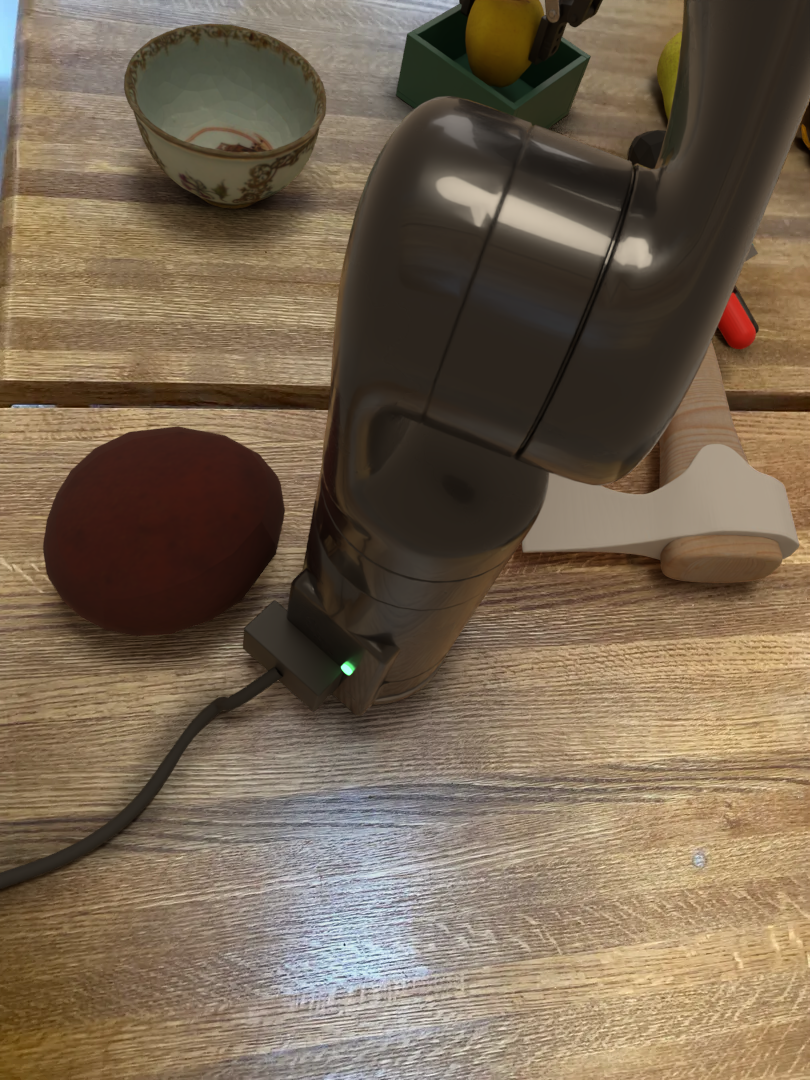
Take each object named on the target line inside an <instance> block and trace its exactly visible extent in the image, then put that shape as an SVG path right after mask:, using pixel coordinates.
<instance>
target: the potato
mask: <svg viewBox="0 0 810 1080" xmlns="http://www.w3.org/2000/svg"><path fill="white" fill-rule="evenodd" d="M284 502H285V501H284V496H283V491H282V483H281V481H280V478H279V477H278V474H277V473H276V472H275V471H274V470H273V468H272V467H271V466H270V465H269V464H268V463H267V462H266V460H265V459H264V458H263V457H262V456H261V455H260V453H258V452H257V451H254V450H252V449H251V448H249V447H247V446H245V445H244V444H241V443H239V442H238V441H236V440H234V439H232V438H230V437H229V436H227V435H224V434H220V433H215V432H209V431H204V430H199V429H193V428H189V427H183V426H179V425H178V426H177V425H175V426H169V427H160V428H152V429H151V428H150V429H143V430H133V431H128V432H125V433H124V434H122V435H120V436H118V437H115V438H113V439H111V440H109V441H107V442H105V443H103V444H100V445H98V446H97V447H95V448H93V449H92V450H91V451H90V452H89V453H88V454H87V455H86V456H85V457H84V458H83V459H81V460H80V461H79V462H78V463H77V464H76V465H75V466H74V467H73V468H72V469H71V470H70V471H69V472H68V474H67V476H66V477H65V479H64V481H63V483H62V484H61V486H59V489H58V491H57V492H56V493H55V496H54V498H53V502H52V504H51V508H50V510H49V513H48V515H47V518H46V523H45V529H44V536H43V544H42V552H43V558H44V559H43V560H44V565H45V571H46V575H47V578H48V580H49V581H50V583H51V584H52V587H53V588H54V589H55V591H56V592H57V594H58V596H59V597H60V599H61V601H62V602H63V603H65V604H66V605H67V606H68V607H69V608H70V609H71V610H72V611H73V612H74V613H75V614H76V615H78V616H79V617H80V618H81V619H83V620H85V621H87V622H89V623H91V624H92V625H94V626H97V627H99V628H100V629H102V630H104V631H107V632H112V633H117V634H122V635H127V636H131V637H132V636H133V637H151V636H152V637H153V636H168V635H174V634H176V633H180V632H182V631H185V630H188V629H191V628H193V627H197V626H199V625H202V624H205V623H207V622H211V621H213V620H214V619H216V618H217V617H219V616H221V615H222V614H224V613H225V612H226V611H229V610H230V609H231V608H233V607H234V606H235V605H238V604H239V603H240V602H242V601H243V600H244V599H245V597H246V596H247V595H248V593H249V592H250V591H251V589H252V588H253V586H254V585H255V584H256V582H257V581H258V579H259V578H260V577H261V575H262V574H263V573H264V572H265V570H266V569H267V567H268V566H269V564H270V563H271V561H273V559H274V558H275V556H276V555H277V551H278V547H279V542H280V537H281V532H282V529H283V525H284V518H285V514H286V513H285V512H286V509H285V503H284Z"/></svg>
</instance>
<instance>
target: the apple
mask: <svg viewBox="0 0 810 1080" xmlns="http://www.w3.org/2000/svg"><path fill="white" fill-rule="evenodd" d="M544 10H545V9H544V8H543V5H542V3H541V0H475V1H474V4H473V6H472V8H471V10H470V14H469V17H468V21H467V27H466V38H465V40H466V52H467V56H468V62H469V66H470V68H471V71H472V73H473V74H474V75H475V76H476V77H477V78H479V79H480V80H481V81H483V82H484V83H486V84H487V85H489V86H495V87H499V88H501V87H506V86H509V85H511V84H513V83H514V82H516V81H517V80H518V79H519V77H520V76H521V75H522V74H523V73H524V72H525V71H526V69H527V68H528V67H529V66H530V65H531V63H532V62H530V61H529V60H528V58H529V55H530V52H531V49H532V45H533V42H534V39H535V36H536V33H537V30H538V27H539V24H540V21H541V18H542V17H543V16H544V15H545V11H544Z"/></svg>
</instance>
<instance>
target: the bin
mask: <svg viewBox="0 0 810 1080" xmlns="http://www.w3.org/2000/svg"><path fill="white" fill-rule="evenodd" d="M461 6H462V5H461V4H460V3H458V4H456V5H454V6H453V7H451V8H450V9H448V10H445V11H444V12H442V13H441V14H439V15H437V16H435V17H433V18H432V19H430V20H428V21H427V22H425V23H424V24H422V25H420V26H418V27H417V28H414V29H413V30H412V31H409V32H408V33H406V38H405V44H404V49H403V54H402V58H401V65H400V68H399V75H398V80H397V85H396V91H395V96H397V97H398V98H399V99H400V100H402V101H403V102H405V104H407V105H408V106H410V107H412V108H413V110H414V109H416V108H417V107H418V106H420V105H421V104H422V103H424V102H426V101H429V100H431V99H434V98H436V97H441V96H455V97H459V98H464V99H469V100H471V101H474V102H477V103H480V104H483V105H486V106H489V107H492V108H494V109H497V110H499V111H502V112H504V113H507V114H509V115H512V116H515V117H517V118H520V119H522V120H525V121H527V122H530V123H531V124H532V126H534V125H538V126H541V127H544V128H546V129H550V128H551V127H553V126H554V125H556V123H558V122H559V121H561V120H562V119H563V118H565V117H566V116H568V115H569V114H570V112H571V109H572V106H573V103H574V101H575V98H576V95H577V93H578V91H579V88H580V85H581V83H582V80H583V78H584V75H585V72H586V70H587V67H588V65H589V62H590V60H591V55H590V54H588V53H587V52H585V51H584V50H582V49H581V48H579V47H578V46H577V45H575V44H574V43H572V42H571V41H570V40H568V39H566V38H565V37H564V36H562V38H561V42H560V45H559V47H558V50H557V51H556V53H555V54H554V55H553V56H551V57H550V58H548V59H547V60H545V61H542V62H540V63H539V64H538V65H535V64H533V63H531V65H530V66H529V67H528V68H527V69H526V71H525V72H524V73H523V74H522V75H521V76H520V77H519V79H518V80H517V81H516V82H514V83H513V84H511V85H509V86H506V87H501V88H499V87H495V86H489V85H487V84H486V83H484V82H483V81H481V80H480V79H479V78H477V77H476V76H475V75H474V74H473V73H472V71H471V68H470V66H469V62H468V56H467V52H466V40H465V38H466V27H467V21H468V18H467V17H466V16H464V15H463V14H461V12H460V10H461Z"/></svg>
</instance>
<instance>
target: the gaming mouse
mask: <svg viewBox="0 0 810 1080" xmlns="http://www.w3.org/2000/svg"><path fill="white" fill-rule="evenodd" d="M665 134H666V130H662V129H654V130H650V131H649V130H648V131H645V132H642V133H641V134H638V135H636V136H635V137H634V138H633V140H631V143H630V146H629V148H628V160H629V161H631V162H632V164H633V165H635V164H637V163H638V164H640V165H642V166H645V167H647V168H650V169H653V168H655V166H656V163H657V161H658V158H659V155H660V152H661V148H662V145H663V141H664V138H665Z"/></svg>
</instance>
